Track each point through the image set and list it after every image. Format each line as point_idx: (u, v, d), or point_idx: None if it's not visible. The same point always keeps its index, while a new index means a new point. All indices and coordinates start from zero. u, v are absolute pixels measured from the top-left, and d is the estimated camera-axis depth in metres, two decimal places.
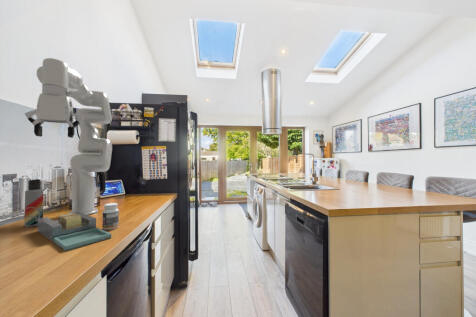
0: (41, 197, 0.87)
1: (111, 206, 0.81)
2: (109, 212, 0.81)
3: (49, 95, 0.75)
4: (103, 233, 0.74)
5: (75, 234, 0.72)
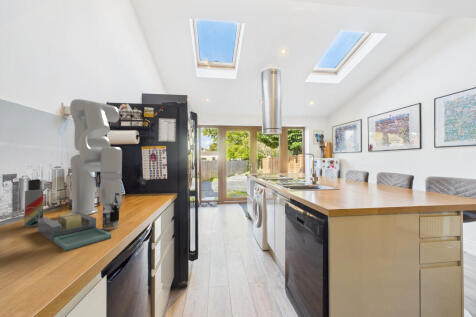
0: (41, 197, 0.87)
1: None
2: (109, 212, 0.81)
3: None
4: (103, 233, 0.74)
5: (75, 234, 0.72)
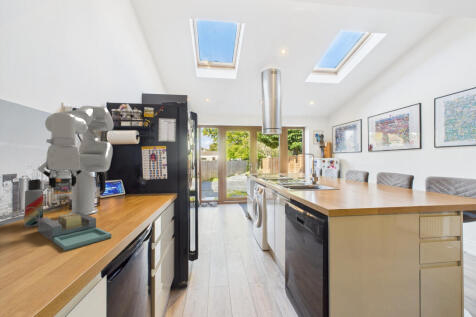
0: (41, 197, 0.87)
1: (70, 172, 0.84)
2: (71, 177, 0.84)
3: None
4: (103, 233, 0.74)
5: (75, 234, 0.72)
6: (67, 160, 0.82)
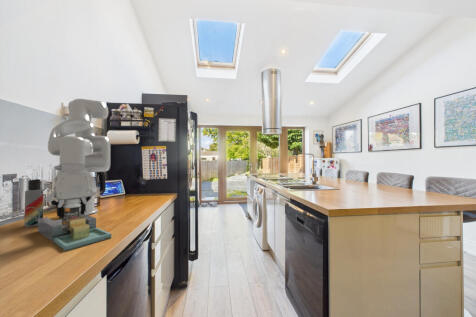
0: (41, 197, 0.87)
1: (79, 199, 0.78)
2: (80, 205, 0.78)
3: None
4: (103, 233, 0.74)
5: None
6: (76, 187, 0.76)
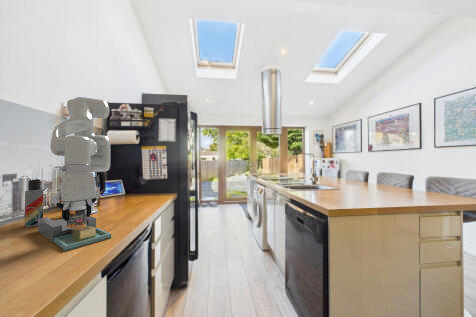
0: (41, 197, 0.87)
1: None
2: (86, 207, 0.75)
3: None
4: (103, 233, 0.74)
5: None
6: (82, 189, 0.73)
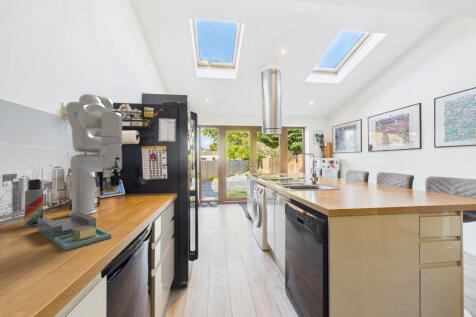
0: (41, 197, 0.87)
1: None
2: (109, 176, 0.81)
3: None
4: (103, 233, 0.74)
5: None
6: (104, 158, 0.81)
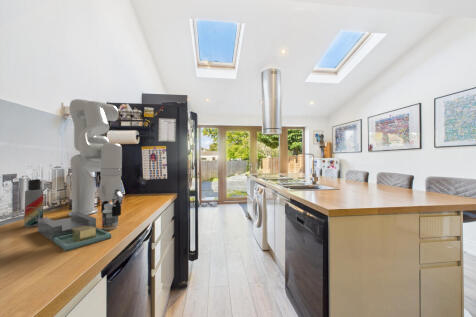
0: (41, 197, 0.87)
1: (111, 206, 0.81)
2: (109, 212, 0.81)
3: None
4: (103, 233, 0.74)
5: None
6: (104, 191, 0.81)
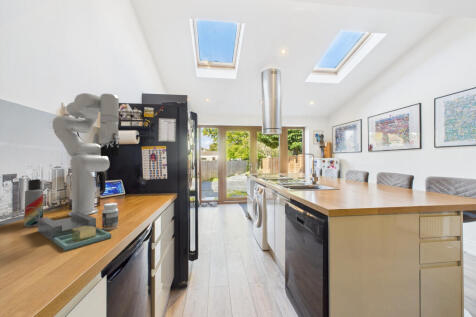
0: (41, 197, 0.87)
1: (111, 206, 0.81)
2: (109, 212, 0.81)
3: None
4: (103, 233, 0.74)
5: None
6: (103, 134, 0.93)
